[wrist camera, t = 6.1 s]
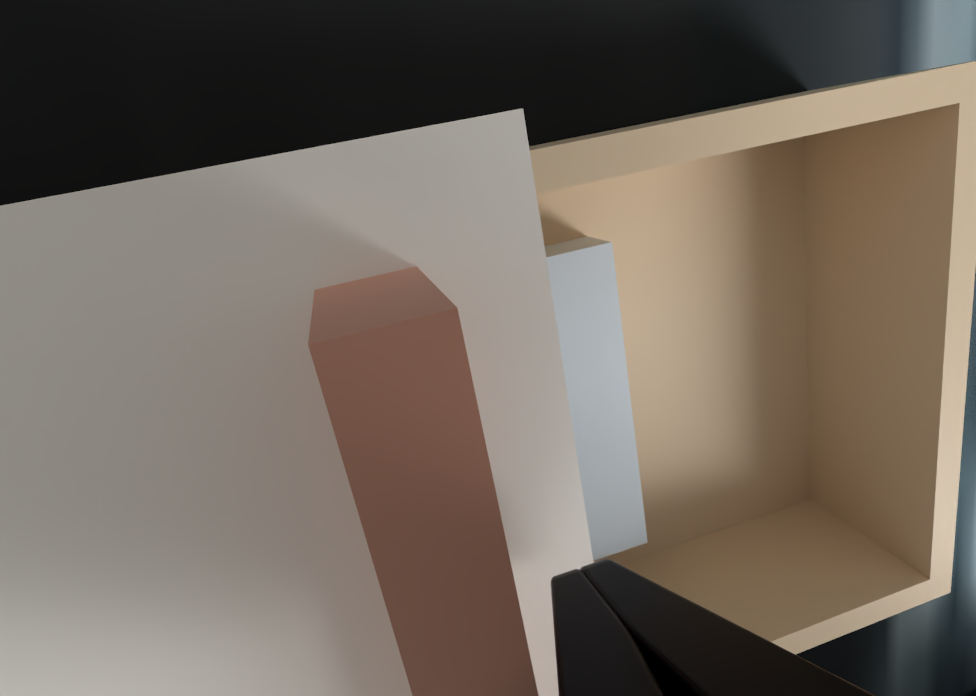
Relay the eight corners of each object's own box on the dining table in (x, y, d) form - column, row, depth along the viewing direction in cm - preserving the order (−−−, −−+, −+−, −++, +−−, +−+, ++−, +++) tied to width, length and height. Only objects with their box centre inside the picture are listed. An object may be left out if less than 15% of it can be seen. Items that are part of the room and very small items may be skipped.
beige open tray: (809, 90, 14) (991, 58, 10) (814, 501, 17) (950, 592, 13) (44, 243, 11) (-108, 279, 7) (238, 701, 14) (206, 889, 10)
